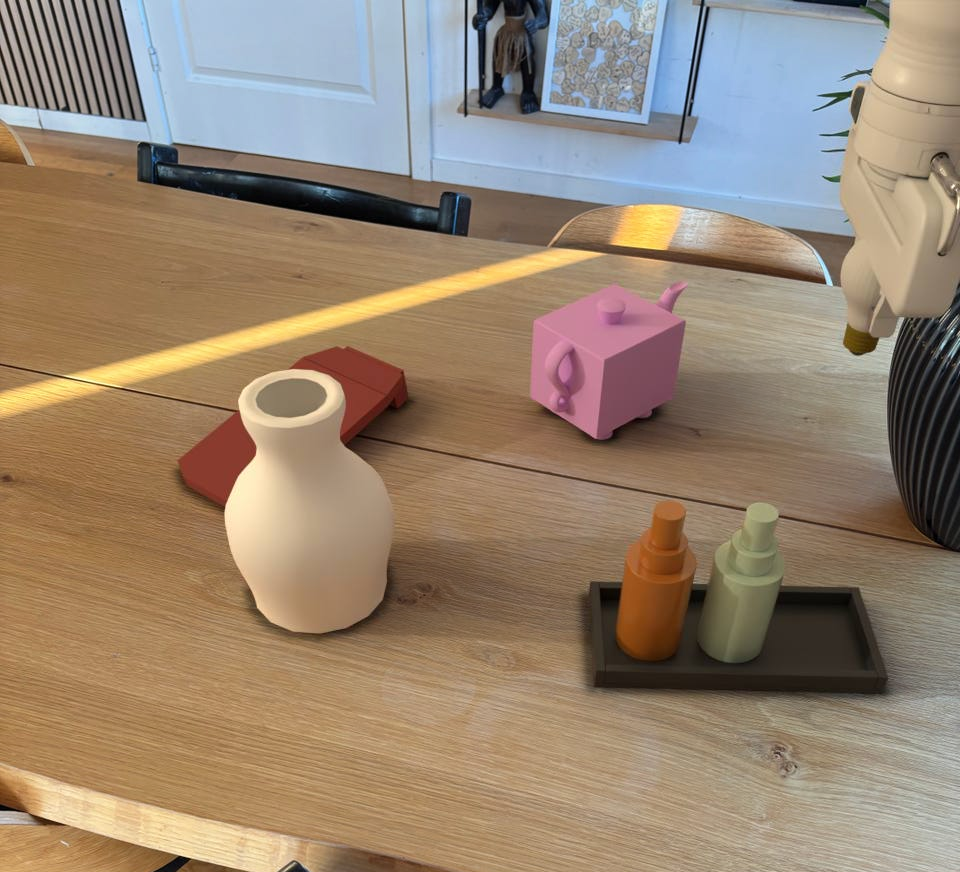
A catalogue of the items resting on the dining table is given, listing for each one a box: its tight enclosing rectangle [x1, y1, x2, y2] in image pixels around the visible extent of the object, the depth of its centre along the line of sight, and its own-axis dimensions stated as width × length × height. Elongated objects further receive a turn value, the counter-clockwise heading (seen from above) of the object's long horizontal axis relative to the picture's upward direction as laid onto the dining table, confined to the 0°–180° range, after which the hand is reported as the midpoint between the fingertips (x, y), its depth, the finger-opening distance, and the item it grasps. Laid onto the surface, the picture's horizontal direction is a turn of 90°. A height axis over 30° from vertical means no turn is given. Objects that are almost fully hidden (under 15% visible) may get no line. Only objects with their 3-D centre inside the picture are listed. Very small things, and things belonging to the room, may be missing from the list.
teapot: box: [529, 281, 688, 441], centre depth 107 cm, size 20×10×12 cm, turn 131°
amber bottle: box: [615, 499, 698, 661], centre depth 82 cm, size 6×6×14 cm
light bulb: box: [839, 239, 881, 357], centre depth 79 cm, size 6×6×10 cm
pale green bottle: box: [697, 501, 787, 663], centre depth 82 cm, size 6×6×14 cm
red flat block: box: [177, 345, 410, 508], centre depth 107 cm, size 12×5×25 cm
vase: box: [224, 369, 396, 634], centre depth 85 cm, size 14×14×20 cm
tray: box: [587, 581, 889, 694], centre depth 86 cm, size 24×11×2 cm, turn 88°
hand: (869, 312), depth 80 cm, fingers closed on light bulb, 5 cm apart
